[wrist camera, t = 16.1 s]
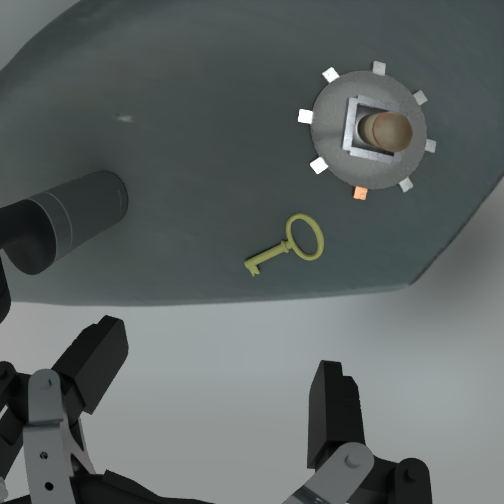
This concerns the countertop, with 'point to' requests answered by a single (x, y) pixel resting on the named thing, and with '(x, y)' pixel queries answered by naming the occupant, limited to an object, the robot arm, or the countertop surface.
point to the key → (289, 244)
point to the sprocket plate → (346, 137)
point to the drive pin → (386, 131)
